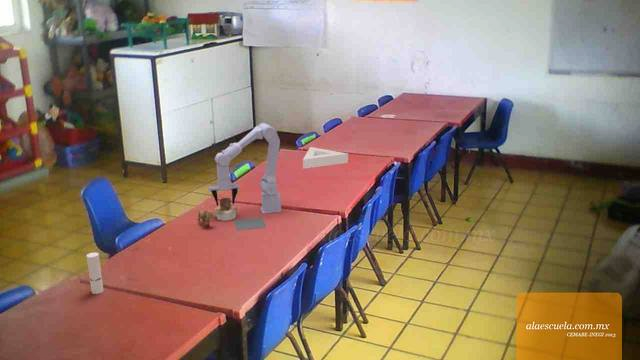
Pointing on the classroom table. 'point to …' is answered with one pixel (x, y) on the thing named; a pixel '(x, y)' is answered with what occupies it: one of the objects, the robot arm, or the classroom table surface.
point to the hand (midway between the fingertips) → (225, 204)
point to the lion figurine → (205, 217)
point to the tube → (95, 273)
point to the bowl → (226, 216)
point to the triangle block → (323, 158)
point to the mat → (250, 223)
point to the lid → (225, 207)
